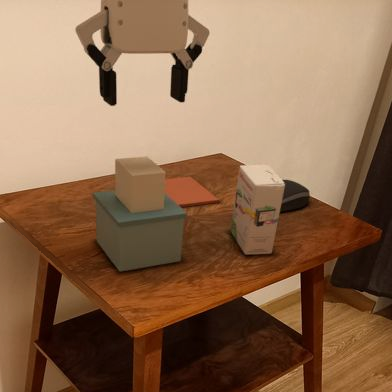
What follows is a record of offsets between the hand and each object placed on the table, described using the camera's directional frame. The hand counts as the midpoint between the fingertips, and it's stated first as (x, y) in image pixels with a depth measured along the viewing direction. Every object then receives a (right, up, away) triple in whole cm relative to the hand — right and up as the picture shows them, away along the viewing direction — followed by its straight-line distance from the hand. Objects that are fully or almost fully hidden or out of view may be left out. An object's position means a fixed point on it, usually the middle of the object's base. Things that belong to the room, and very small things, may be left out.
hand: (144, 101), depth 71 cm
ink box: (+16, -15, +19) cm, 29 cm away
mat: (+3, -3, +33) cm, 33 cm away
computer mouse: (+23, -5, +33) cm, 41 cm away
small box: (-2, -11, +8) cm, 14 cm away
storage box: (-2, -17, +13) cm, 22 cm away
